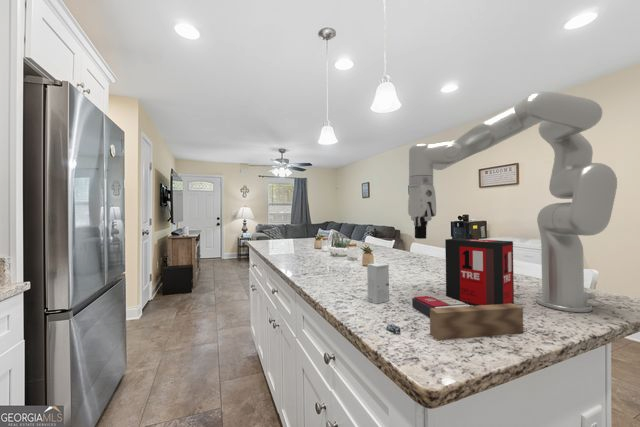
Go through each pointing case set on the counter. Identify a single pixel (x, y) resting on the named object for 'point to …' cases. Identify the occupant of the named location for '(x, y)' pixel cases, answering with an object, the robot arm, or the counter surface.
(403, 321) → the counter surface
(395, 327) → the blueberries
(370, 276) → the skincare box
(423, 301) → the calculator
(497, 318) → the walnut board
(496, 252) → the cleaning product box
